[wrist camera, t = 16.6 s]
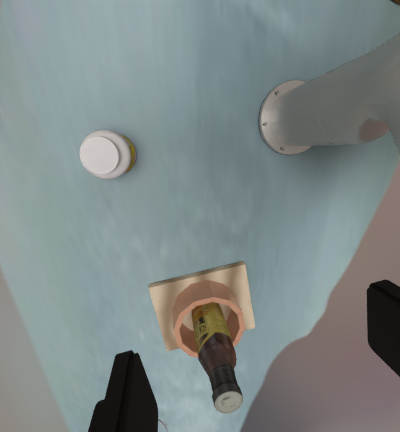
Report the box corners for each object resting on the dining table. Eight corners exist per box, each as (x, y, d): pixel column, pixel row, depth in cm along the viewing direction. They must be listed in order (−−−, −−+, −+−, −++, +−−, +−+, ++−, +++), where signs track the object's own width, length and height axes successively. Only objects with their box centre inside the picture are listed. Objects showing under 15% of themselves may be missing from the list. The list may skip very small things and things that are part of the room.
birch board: (243, 261, 52) (245, 264, 50) (252, 323, 56) (255, 327, 55) (149, 284, 50) (148, 288, 49) (167, 346, 54) (167, 351, 53)
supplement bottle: (120, 181, 44) (103, 193, 32) (89, 155, 42) (58, 157, 30) (145, 153, 43) (137, 154, 31) (114, 125, 41) (93, 115, 29)
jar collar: (230, 274, 50) (238, 290, 45) (239, 326, 54) (248, 347, 48) (167, 289, 49) (167, 308, 43) (181, 342, 53) (183, 365, 47)
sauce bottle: (193, 293, 50) (211, 380, 31) (222, 295, 51) (256, 381, 32) (187, 320, 52) (202, 419, 33) (216, 322, 53) (246, 419, 34)
